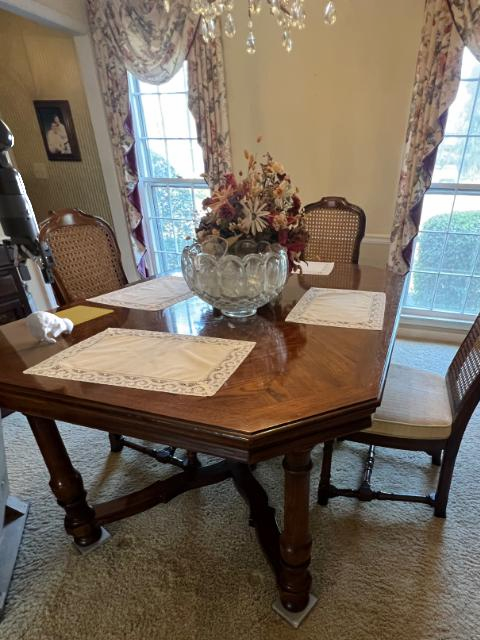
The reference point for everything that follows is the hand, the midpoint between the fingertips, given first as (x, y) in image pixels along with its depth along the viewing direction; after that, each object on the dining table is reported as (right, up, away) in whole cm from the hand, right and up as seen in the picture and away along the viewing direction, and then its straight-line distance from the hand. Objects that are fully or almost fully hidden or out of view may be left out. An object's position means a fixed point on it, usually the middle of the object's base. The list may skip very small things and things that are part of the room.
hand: (38, 281), depth 102 cm
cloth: (-6, -4, +26) cm, 27 cm away
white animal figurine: (0, -14, +8) cm, 16 cm away
